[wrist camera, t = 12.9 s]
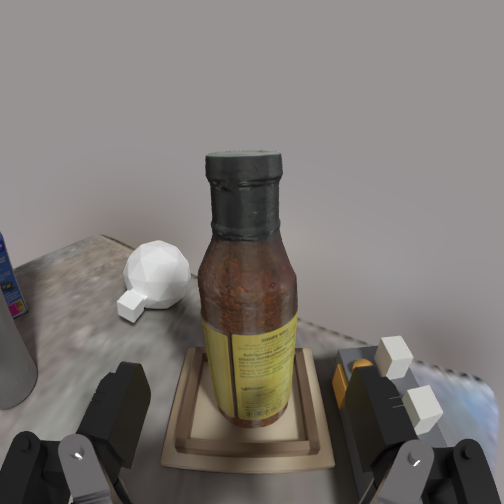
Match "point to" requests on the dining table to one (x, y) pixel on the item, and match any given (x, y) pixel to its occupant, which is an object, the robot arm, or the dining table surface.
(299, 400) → the square beige tray
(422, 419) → the breaker bank
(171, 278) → the faceted ball with stub
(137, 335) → the dining table surface
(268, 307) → the sauce bottle
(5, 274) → the ink cartridge box
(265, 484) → the dining table surface
